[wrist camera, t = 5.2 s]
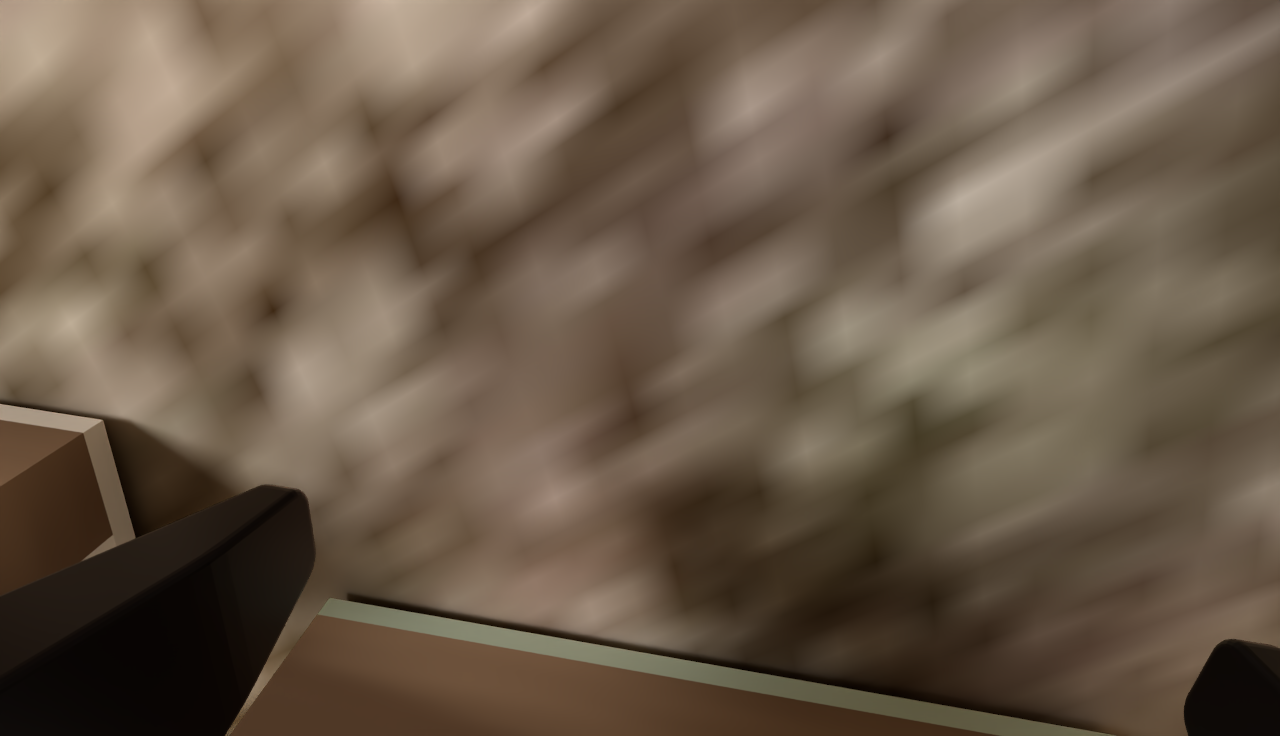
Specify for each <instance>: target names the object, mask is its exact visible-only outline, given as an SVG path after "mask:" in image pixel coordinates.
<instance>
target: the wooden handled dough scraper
mask: <svg viewBox="0 0 1280 736" xmlns="http://www.w3.org/2000/svg"><path fill="white" fill-rule="evenodd" d="M230 736H1116V735H1110V734H1105V733H1099V732H1093V731H1088V730H1082V729H1076V728H1070V727H1065V726H1059V725H1053V724H1048V723H1042V722H1036V721H1030V720H1025V719H1019V718H1013V717H1008V716H1002V715H996V714H991V713H985V712H979V711H973V710H968V709H962V708H956V707H951V706H945V705H939V704H933V703H928V702H922V701H916V700H911V699H905V698H899V697H893V696H888V695H882V694H876V693H871V692H865V691H859V690H853V689H848V688H842V687H836V686H831V685H825V684H819V683H813V682H808V681H802V680H796V679H791V678H785V677H779V676H774V675H768V674H762V673H756V672H751V671H745V670H739V669H734V668H728V667H722V666H716V665H711V664H705V663H699V662H694V661H688V660H682V659H676V658H671V657H665V656H659V655H654V654H648V653H642V652H636V651H631V650H625V649H619V648H614V647H608V646H602V645H597V644H591V643H585V642H579V641H574V640H568V639H562V638H557V637H551V636H545V635H539V634H534V633H528V632H522V631H517V630H511V629H505V628H499V627H494V626H488V625H482V624H477V623H471V622H465V621H459V620H454V619H448V618H442V617H437V616H431V615H425V614H420V613H414V612H408V611H402V610H397V609H391V608H385V607H380V606H374V605H368V604H362V603H357V602H351V601H345V600H340V599H334V598H329V599H328V600H327V602H326V603H325V605H324V606H323V607H322V609H321V610H320V612H319V613H318V614H317V616H316V617H315V618H314V620H313V621H312V623H311V624H310V625H309V627H308V628H307V629H306V631H305V632H304V634H303V635H302V636H301V638H300V639H299V641H298V642H297V643H296V645H295V646H294V647H293V649H292V650H291V652H290V653H289V654H288V656H287V657H286V658H285V660H284V661H283V663H282V664H281V665H280V667H279V668H278V670H277V671H276V672H275V674H274V675H273V676H272V678H271V679H270V681H269V682H268V683H267V685H266V686H265V687H264V689H263V690H262V692H261V693H260V694H259V696H258V697H257V699H256V700H255V701H254V703H253V704H252V705H251V707H250V708H249V710H248V711H247V712H246V714H245V715H244V716H243V718H242V719H241V721H240V722H239V723H238V725H237V726H236V728H235V729H234V730H233V732H232V733H231V734H230Z"/></svg>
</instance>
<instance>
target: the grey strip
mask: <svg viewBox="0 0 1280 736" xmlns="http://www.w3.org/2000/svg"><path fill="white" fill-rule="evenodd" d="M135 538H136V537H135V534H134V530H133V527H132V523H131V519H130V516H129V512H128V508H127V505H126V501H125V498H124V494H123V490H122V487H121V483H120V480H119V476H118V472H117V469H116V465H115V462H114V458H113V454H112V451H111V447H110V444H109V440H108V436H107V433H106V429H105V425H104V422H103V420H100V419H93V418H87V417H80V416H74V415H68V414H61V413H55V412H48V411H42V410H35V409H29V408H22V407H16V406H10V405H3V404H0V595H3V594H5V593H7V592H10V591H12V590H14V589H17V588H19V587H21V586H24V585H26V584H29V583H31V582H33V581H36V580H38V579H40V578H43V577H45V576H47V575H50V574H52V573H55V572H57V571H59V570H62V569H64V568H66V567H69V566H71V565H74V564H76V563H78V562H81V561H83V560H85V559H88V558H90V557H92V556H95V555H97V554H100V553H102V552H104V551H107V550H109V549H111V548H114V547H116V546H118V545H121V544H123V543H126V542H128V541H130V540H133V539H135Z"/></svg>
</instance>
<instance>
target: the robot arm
mask: <svg viewBox="0 0 1280 736" xmlns="http://www.w3.org/2000/svg"><path fill="white" fill-rule="evenodd" d="M314 562H315V544H314V537H313V530H312V523H311V516H310V510H309V503H308V499H307V497H306V495H305V494H304V493H303V492H302V491H301V490H299V489H295V488H289V487H283V486H276V485H261V486H258V487H256V488H253V489H251V490H249V491H246V492H244V493H242V494H239V495H237V496H234V497H232V498H230V499H227V500H225V501H223V502H220V503H218V504H215V505H213V506H211V507H208V508H206V509H204V510H201V511H199V512H197V513H194V514H192V515H189V516H187V517H185V518H182V519H180V520H178V521H175V522H173V523H171V524H168V525H166V526H163V527H161V528H159V529H156V530H154V531H152V532H149V533H147V534H145V535H142V536H140V537H137V538H135V539H133V540H130V541H128V542H126V543H123V544H121V545H118V546H116V547H114V548H111V549H109V550H107V551H104V552H102V553H100V554H97V555H95V556H92V557H90V558H88V559H85V560H83V561H81V562H78V563H76V564H74V565H71V566H69V567H66V568H64V569H62V570H59V571H57V572H55V573H52V574H50V575H47V576H45V577H43V578H40V579H38V580H36V581H33V582H31V583H29V584H26V585H24V586H21V587H19V588H17V589H14V590H12V591H10V592H7V593H5V594H3V595H0V736H225V734H226V733H227V731H228V729H229V728H230V726H231V725H232V723H233V721H234V720H235V718H236V716H237V715H238V713H239V712H240V710H241V708H242V707H243V705H244V703H245V701H246V699H247V698H248V696H249V694H250V692H251V690H252V688H253V687H254V685H255V683H256V681H257V679H258V677H259V675H260V673H261V671H262V669H263V667H264V665H265V663H266V661H267V659H268V657H269V655H270V653H271V652H272V650H273V648H274V646H275V644H276V642H277V640H278V638H279V636H280V634H281V632H282V630H283V628H284V626H285V624H286V622H287V620H288V618H289V616H290V614H291V612H292V610H293V608H294V606H295V604H296V602H297V600H298V599H299V597H300V595H301V593H302V591H303V589H304V587H305V585H306V583H307V581H308V579H309V577H310V575H311V572H312V569H313V566H314ZM1184 720H1185V726H1186V730H1187V733H1188V736H1280V648H1277V647H1275V646H1272V645H1268V644H1262V643H1256V642H1250V641H1244V640H1237V639H1228V640H1224V641H1222V642H1221V643H1219V644H1218V645H1217V646H1216V647H1215V648H1214V650H1213V651H1212V653H1211V655H1210V657H1209V658H1208V660H1207V662H1206V664H1205V665H1204V667H1203V669H1202V671H1201V672H1200V674H1199V676H1198V678H1197V679H1196V681H1195V683H1194V685H1193V686H1192V688H1191V690H1190V692H1189V693H1188V695H1187V698H1186V701H1185V706H1184Z"/></svg>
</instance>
